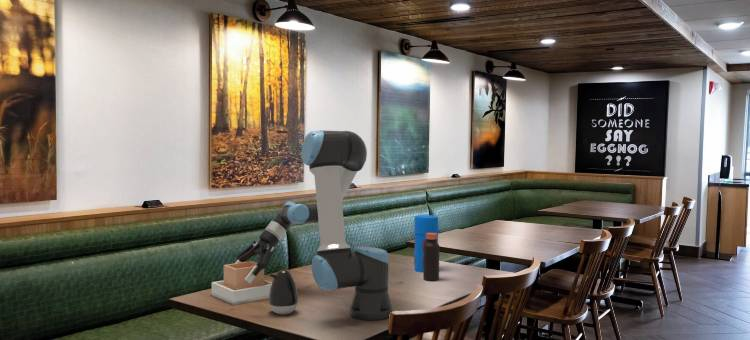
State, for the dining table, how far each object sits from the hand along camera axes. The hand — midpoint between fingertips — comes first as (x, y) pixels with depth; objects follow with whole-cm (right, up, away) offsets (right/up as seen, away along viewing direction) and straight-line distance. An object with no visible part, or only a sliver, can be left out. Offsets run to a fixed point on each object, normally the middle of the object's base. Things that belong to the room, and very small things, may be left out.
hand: (238, 278), depth 228 cm
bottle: (+77, -6, +30) cm, 83 cm away
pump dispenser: (+20, -9, -19) cm, 29 cm away
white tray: (+2, -7, +2) cm, 8 cm away
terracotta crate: (+2, -6, +2) cm, 7 cm away
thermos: (+76, -5, +48) cm, 90 cm away
